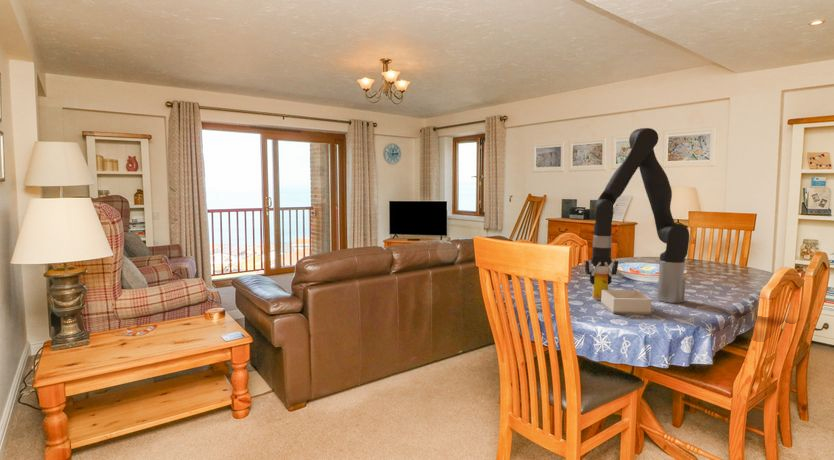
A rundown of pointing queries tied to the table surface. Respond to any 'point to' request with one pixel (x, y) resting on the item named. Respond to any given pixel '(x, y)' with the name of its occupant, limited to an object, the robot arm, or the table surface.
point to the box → (625, 302)
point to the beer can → (600, 281)
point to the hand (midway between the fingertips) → (600, 283)
